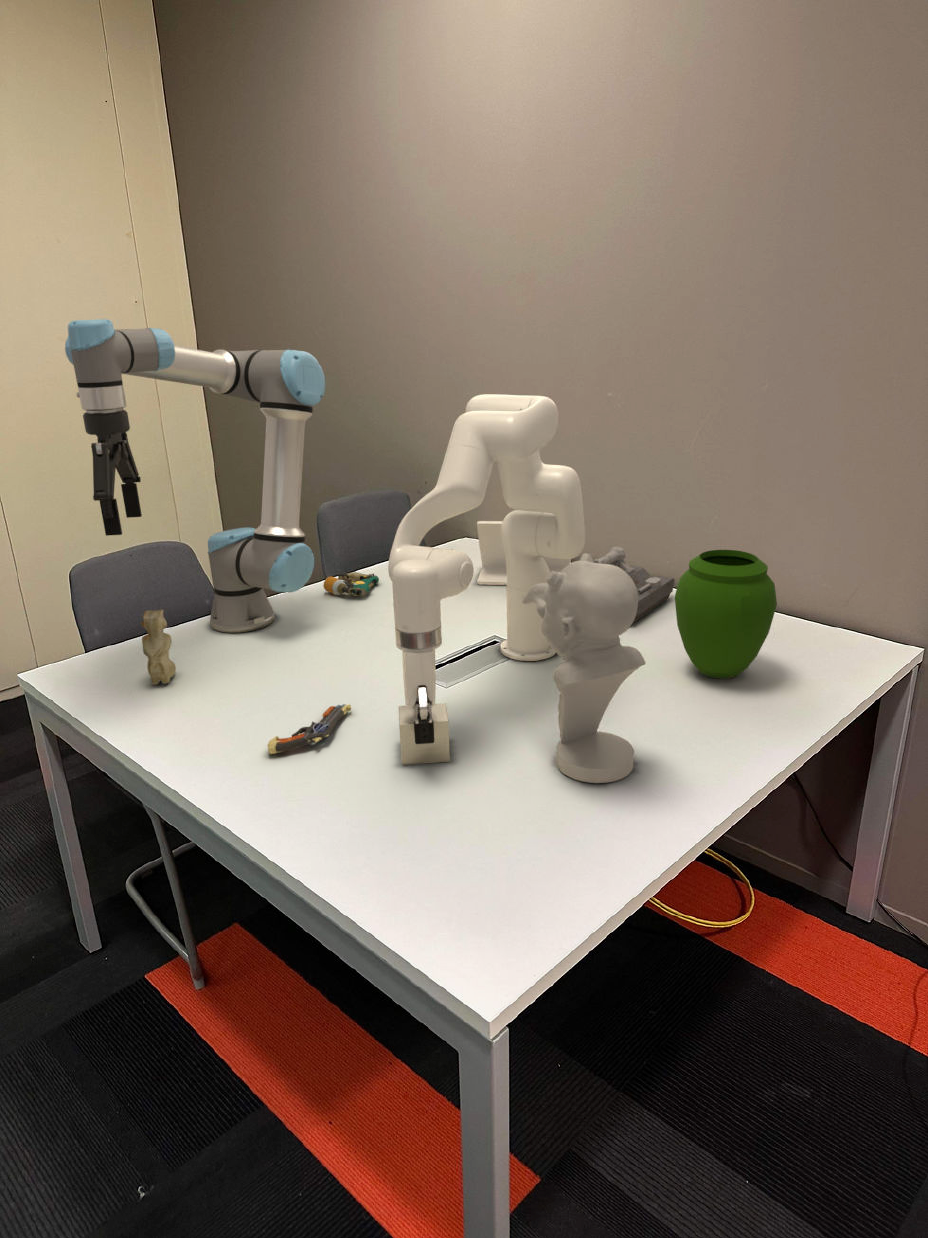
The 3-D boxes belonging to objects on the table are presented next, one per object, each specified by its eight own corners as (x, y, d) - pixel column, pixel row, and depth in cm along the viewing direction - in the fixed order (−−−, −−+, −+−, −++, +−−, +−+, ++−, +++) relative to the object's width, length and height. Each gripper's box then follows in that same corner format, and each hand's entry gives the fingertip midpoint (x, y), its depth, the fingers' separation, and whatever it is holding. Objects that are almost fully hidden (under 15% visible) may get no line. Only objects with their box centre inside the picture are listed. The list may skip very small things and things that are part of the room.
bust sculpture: (574, 712, 160) (578, 530, 147) (660, 769, 140) (672, 565, 127) (501, 733, 153) (498, 544, 140) (579, 797, 133) (584, 583, 120)
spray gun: (347, 579, 242) (393, 587, 236) (313, 594, 227) (362, 602, 221) (347, 565, 240) (393, 572, 235) (313, 578, 226) (361, 587, 220)
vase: (779, 663, 178) (792, 551, 169) (754, 700, 162) (766, 578, 154) (688, 646, 188) (695, 539, 179) (656, 679, 172) (662, 563, 164)
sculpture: (181, 672, 182) (171, 606, 177) (172, 686, 176) (161, 618, 170) (154, 673, 182) (142, 607, 177) (144, 687, 175) (131, 619, 170)
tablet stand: (569, 585, 229) (570, 524, 223) (476, 584, 232) (475, 523, 226) (570, 566, 246) (571, 508, 240) (484, 564, 249) (483, 507, 243)
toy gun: (262, 744, 147) (317, 741, 144) (302, 702, 164) (351, 699, 162) (265, 758, 147) (319, 756, 145) (305, 715, 165) (354, 712, 163)
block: (401, 745, 150) (398, 705, 147) (447, 742, 151) (445, 703, 148) (401, 765, 144) (399, 724, 141) (449, 761, 144) (448, 721, 142)
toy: (603, 584, 229) (605, 530, 224) (673, 597, 218) (677, 540, 213) (555, 612, 210) (556, 553, 205) (630, 627, 199) (633, 566, 194)
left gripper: (104, 403, 165) (122, 511, 172) (58, 420, 141) (82, 544, 149) (143, 401, 165) (160, 509, 173) (105, 418, 142) (126, 541, 149)
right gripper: (394, 618, 147) (400, 708, 153) (396, 657, 131) (402, 756, 137) (438, 615, 147) (441, 705, 154) (445, 654, 131) (449, 753, 137)
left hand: (124, 525), depth 161 cm, fingers open, 13 cm apart
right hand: (423, 729), depth 145 cm, fingers open, 9 cm apart
